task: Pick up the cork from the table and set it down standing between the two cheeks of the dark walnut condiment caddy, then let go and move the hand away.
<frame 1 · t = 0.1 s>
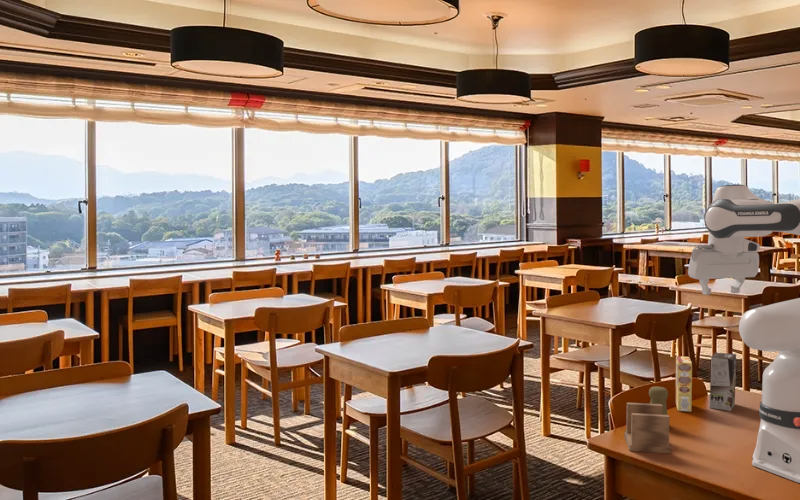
hand: (720, 293, 184), 39 cm above the table, tool pointing down, fingers open, 8 cm apart
caddy: (646, 444, 177), on the table
coffee box: (722, 406, 211), on the table
candy box: (682, 408, 209), on the table
cork: (657, 425, 193), on the table
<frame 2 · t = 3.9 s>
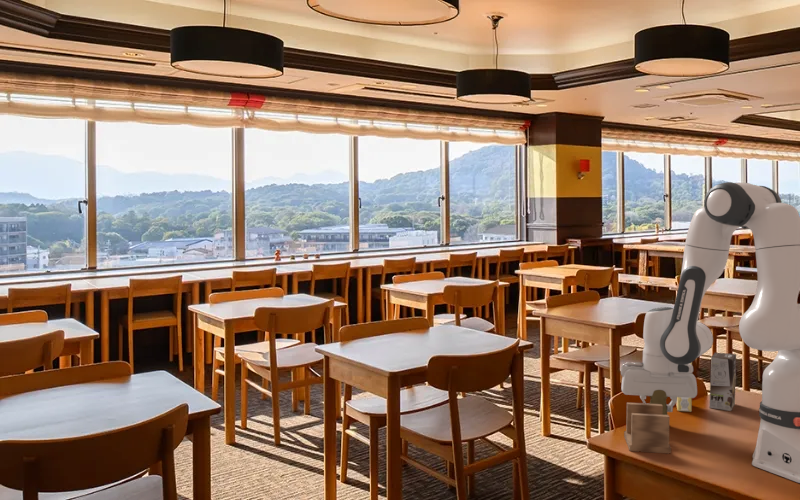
hand: (658, 410, 193), 4 cm above the table, tool pointing down, fingers closed on cork, 5 cm apart
cork: (657, 425, 193), on the table, touching gripper
everything else where it was.
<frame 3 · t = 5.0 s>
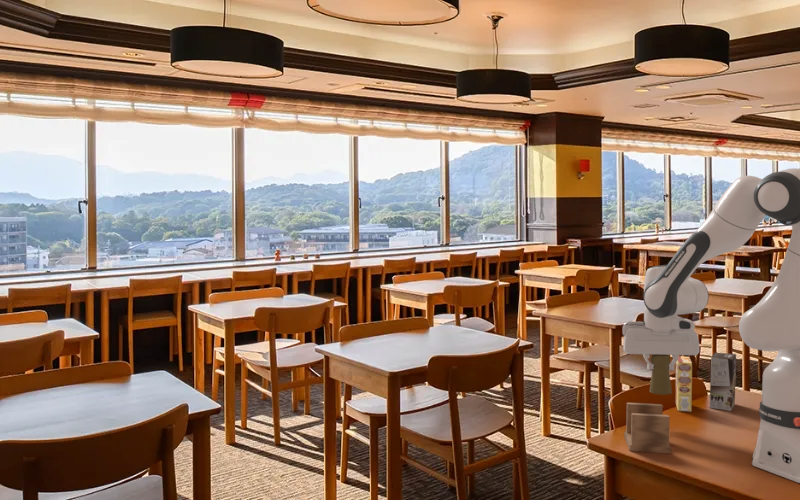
hand: (660, 369, 191), 16 cm above the table, tool pointing down, fingers closed on cork, 4 cm apart
cork: (660, 392, 192), point 10 cm above the table, touching gripper
everything else where it was.
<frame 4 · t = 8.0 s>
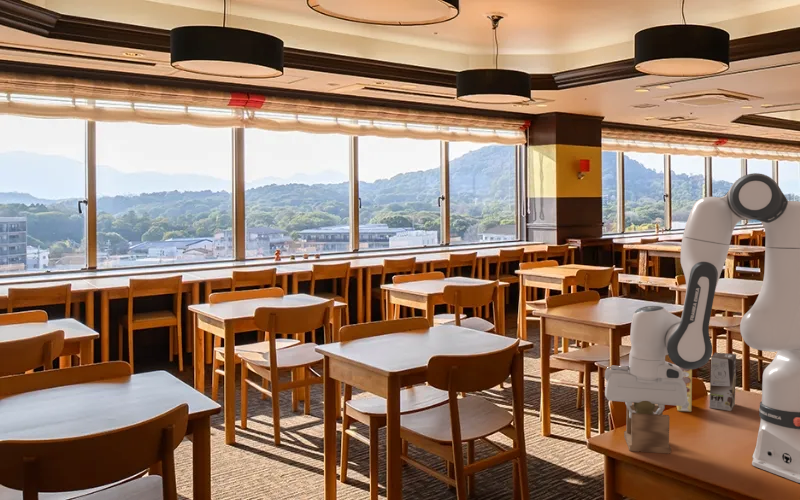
hand: (644, 418, 177), 7 cm above the table, tool pointing down, fingers closed on cork, 4 cm apart
cork: (645, 439, 177), point 1 cm above the table, touching caddy, gripper
everything else where it was.
when the fingers open (6 cm above the table, at t = 8.8 s): cork stays where it is, resting on caddy.
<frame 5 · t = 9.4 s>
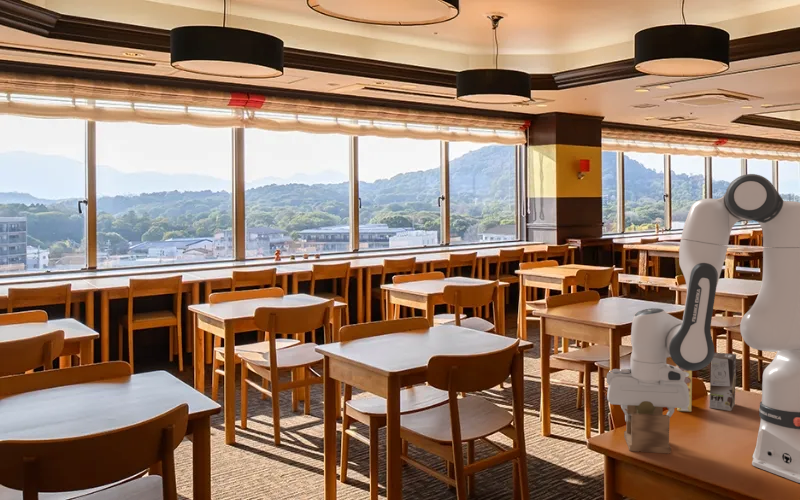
hand: (647, 422, 176), 6 cm above the table, tool pointing down, fingers open, 8 cm apart
cork: (644, 439, 177), point 1 cm above the table, touching caddy
everything else where it was.
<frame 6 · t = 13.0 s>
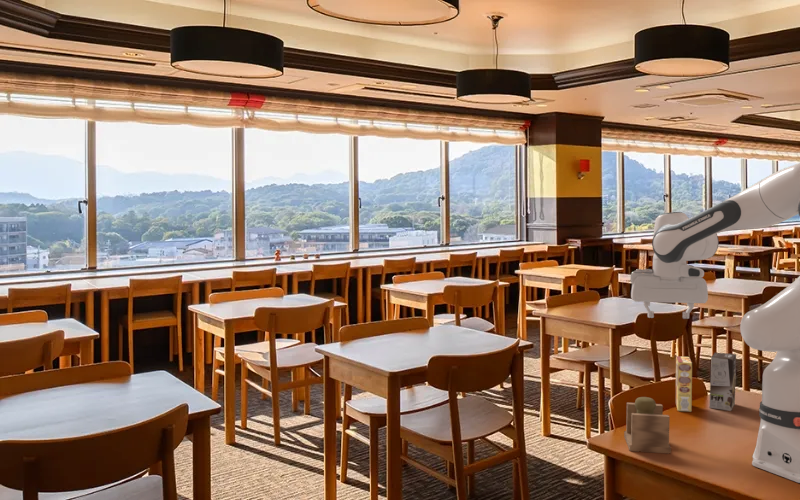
hand: (668, 318, 190), 31 cm above the table, tool pointing down, fingers open, 8 cm apart
nothing on the table moved.
at the end: cork inside the target area on the caddy (0.5 cm from its centre), point 1.3 cm above the caddy's base; cork tilted 0°; the gripper is holding nothing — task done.
